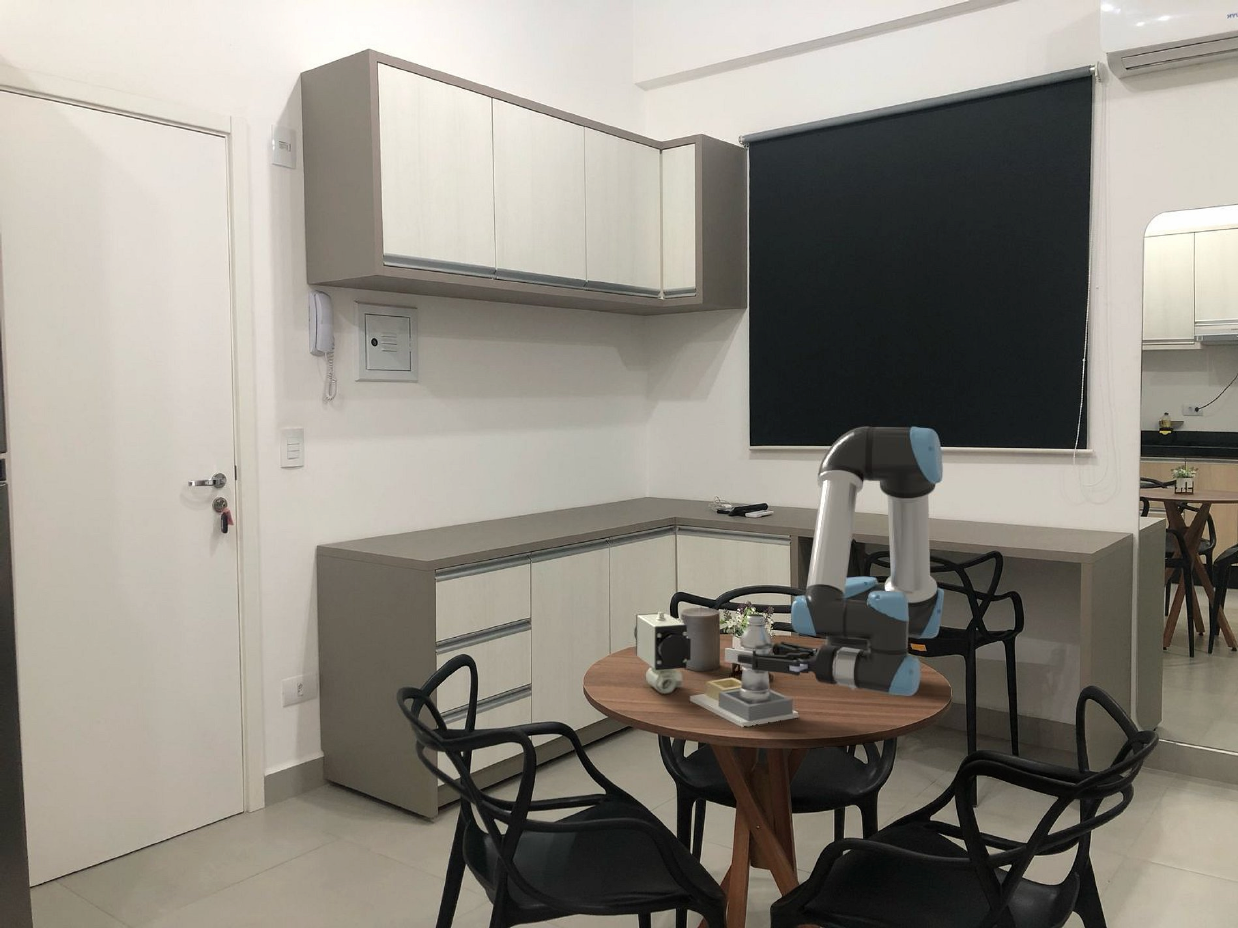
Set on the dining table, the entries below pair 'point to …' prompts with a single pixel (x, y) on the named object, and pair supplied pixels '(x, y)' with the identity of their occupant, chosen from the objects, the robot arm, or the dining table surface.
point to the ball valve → (662, 649)
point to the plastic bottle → (752, 680)
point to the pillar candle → (703, 638)
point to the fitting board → (743, 704)
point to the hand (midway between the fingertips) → (735, 650)
